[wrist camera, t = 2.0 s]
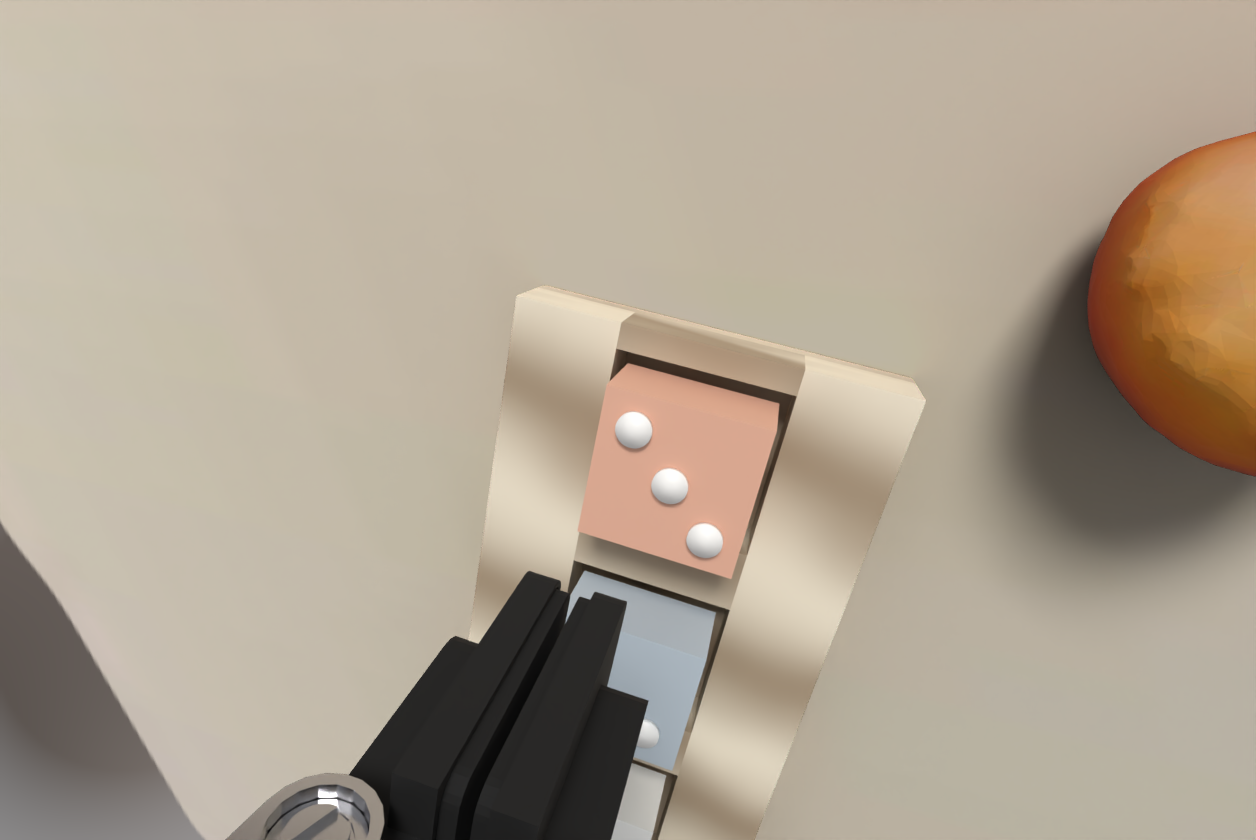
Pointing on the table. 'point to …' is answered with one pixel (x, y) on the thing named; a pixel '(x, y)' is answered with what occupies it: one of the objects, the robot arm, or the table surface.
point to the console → (745, 604)
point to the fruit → (1185, 302)
